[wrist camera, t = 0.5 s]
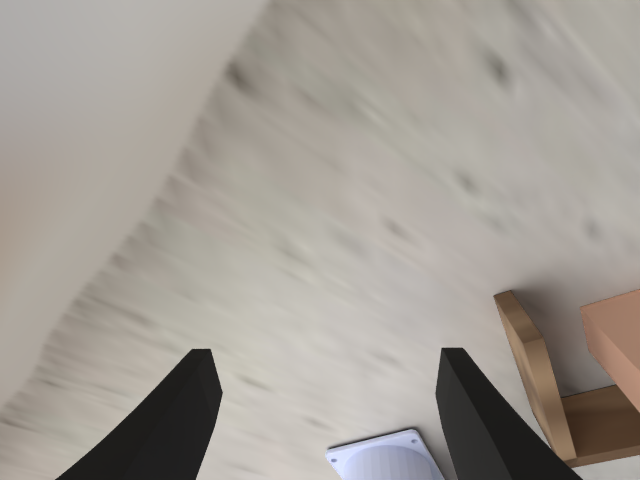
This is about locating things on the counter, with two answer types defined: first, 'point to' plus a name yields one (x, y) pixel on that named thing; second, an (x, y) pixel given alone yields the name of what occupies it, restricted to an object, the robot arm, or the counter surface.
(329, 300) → the counter surface
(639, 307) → the terracotta block
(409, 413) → the counter surface
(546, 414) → the open-sided box
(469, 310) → the counter surface
